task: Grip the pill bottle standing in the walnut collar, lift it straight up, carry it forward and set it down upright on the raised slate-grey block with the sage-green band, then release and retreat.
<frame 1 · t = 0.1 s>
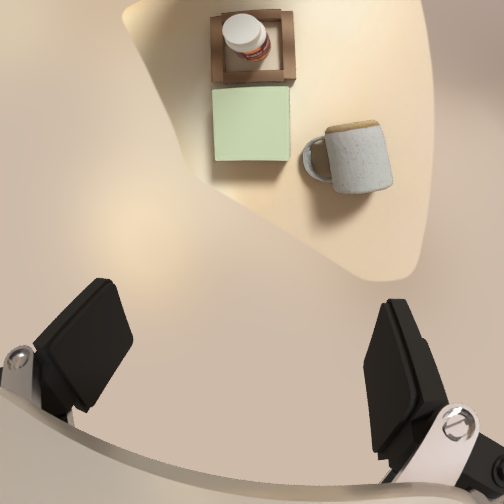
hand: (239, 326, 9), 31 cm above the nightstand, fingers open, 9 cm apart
pill bottle: (253, 46, 30), resting in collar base
ceramic mug: (343, 155, 35), on the nightstand
pawl block: (255, 122, 35), on the nightstand
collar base: (253, 46, 30), on the nightstand
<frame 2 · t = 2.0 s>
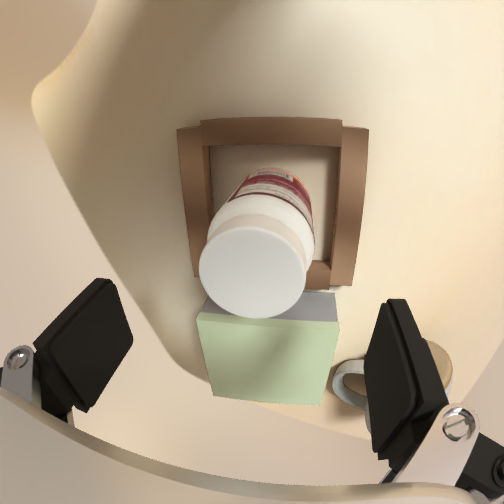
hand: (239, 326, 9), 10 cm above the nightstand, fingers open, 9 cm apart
pill bottle: (273, 202, 18), resting in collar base
ceramic mug: (387, 365, 23), on the nightstand
pawl block: (272, 333, 23), on the nightstand
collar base: (273, 203, 18), on the nightstand
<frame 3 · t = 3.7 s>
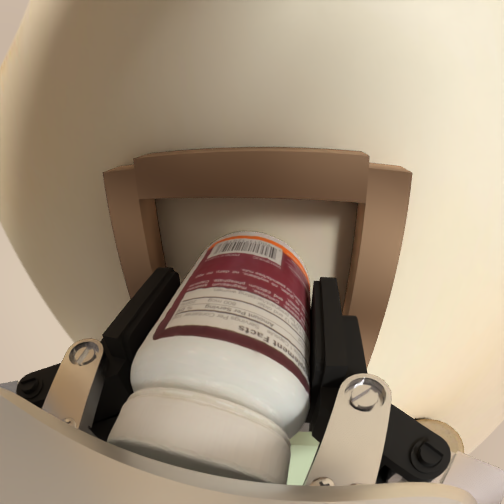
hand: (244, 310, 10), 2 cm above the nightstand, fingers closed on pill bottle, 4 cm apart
pill bottle: (254, 279, 12), resting in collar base, touching gripper
ceramic mug: (389, 439, 17), on the nightstand
pawl block: (257, 417, 17), on the nightstand
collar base: (253, 281, 12), on the nightstand
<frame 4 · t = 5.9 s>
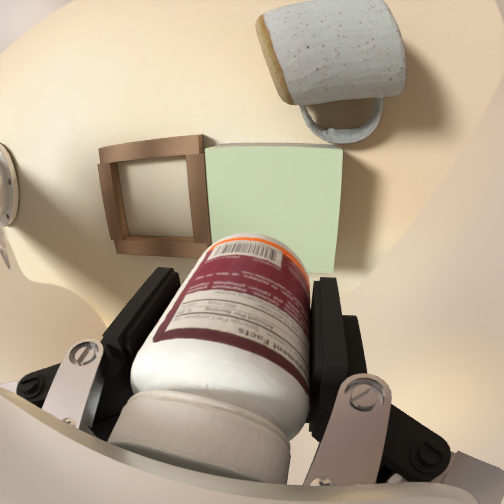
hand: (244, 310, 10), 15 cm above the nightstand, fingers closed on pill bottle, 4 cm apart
pill bottle: (253, 280, 12), point 13 cm above the nightstand, touching gripper
ceramic mug: (333, 75, 18), on the nightstand
pawl block: (277, 197, 23), on the nightstand
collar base: (155, 197, 25), on the nightstand
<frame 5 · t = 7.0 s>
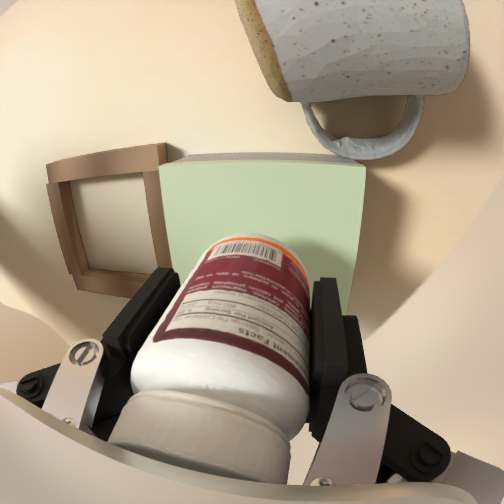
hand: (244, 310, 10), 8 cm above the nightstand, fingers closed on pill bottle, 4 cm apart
pill bottle: (254, 280, 12), point 6 cm above the nightstand, touching gripper
ceramic mug: (348, 61, 12), on the nightstand
pawl block: (268, 228, 17), on the nightstand
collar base: (113, 225, 19), on the nightstand
when the fingers open (7 cm above the nightstand, at t = 7.9 s): pill bottle drops 1 cm, resting on pawl block.
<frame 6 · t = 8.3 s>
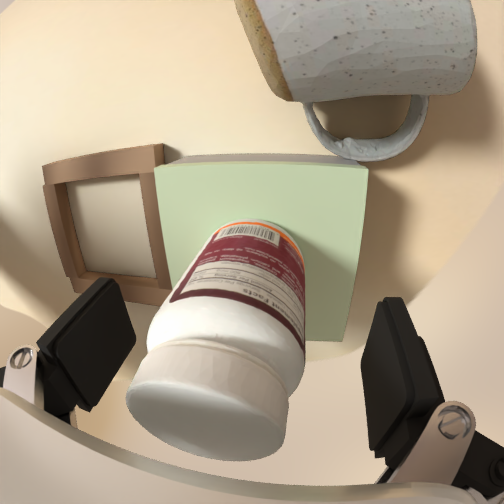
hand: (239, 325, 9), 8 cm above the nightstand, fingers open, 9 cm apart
pill bottle: (254, 262, 13), point 4 cm above the nightstand, touching pawl block
ceramic mug: (350, 60, 12), on the nightstand, touching pawl block
pawl block: (267, 231, 17), on the nightstand
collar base: (110, 227, 18), on the nightstand
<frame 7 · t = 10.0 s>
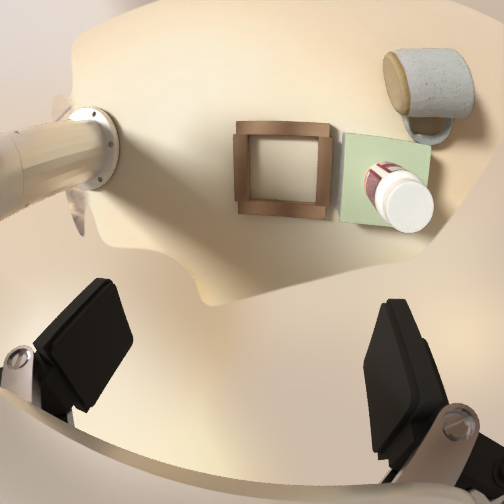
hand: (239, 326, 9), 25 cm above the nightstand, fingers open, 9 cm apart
pill bottle: (385, 183, 26), point 4 cm above the nightstand, touching pawl block
ceramic mug: (419, 97, 24), on the nightstand
pawl block: (378, 175, 29), on the nightstand
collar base: (283, 168, 31), on the nightstand
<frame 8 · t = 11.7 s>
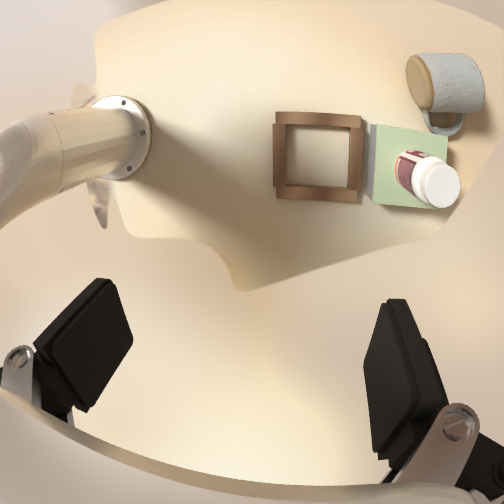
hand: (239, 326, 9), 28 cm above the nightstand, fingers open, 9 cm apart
pill bottle: (410, 168, 28), point 4 cm above the nightstand, touching pawl block
ceramic mug: (435, 94, 26), on the nightstand
pawl block: (401, 163, 31), on the nightstand
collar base: (317, 155, 33), on the nightstand
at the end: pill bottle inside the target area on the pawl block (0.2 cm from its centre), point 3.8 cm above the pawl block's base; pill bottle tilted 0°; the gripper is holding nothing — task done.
